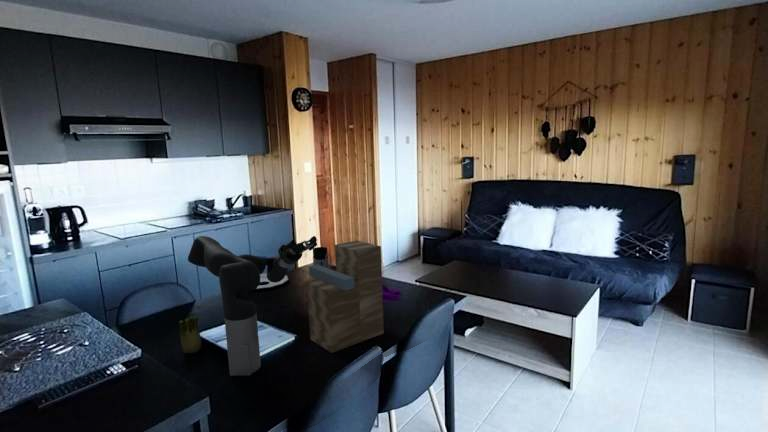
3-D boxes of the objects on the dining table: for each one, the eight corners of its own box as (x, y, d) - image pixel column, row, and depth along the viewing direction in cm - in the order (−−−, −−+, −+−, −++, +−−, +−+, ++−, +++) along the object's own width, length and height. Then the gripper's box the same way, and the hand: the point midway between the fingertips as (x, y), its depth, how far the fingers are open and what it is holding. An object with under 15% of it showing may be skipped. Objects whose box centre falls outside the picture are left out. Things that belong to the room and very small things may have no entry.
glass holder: (324, 272, 232) (322, 245, 229) (338, 278, 221) (337, 250, 219) (310, 276, 226) (308, 248, 224) (324, 281, 215) (322, 253, 213)
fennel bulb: (181, 356, 140) (177, 321, 138) (184, 349, 145) (180, 316, 143) (200, 353, 142) (197, 319, 140) (202, 347, 146) (199, 314, 144)
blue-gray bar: (354, 288, 138) (353, 277, 137) (345, 290, 136) (344, 280, 135) (317, 273, 156) (317, 264, 155) (309, 275, 153) (308, 266, 153)
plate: (237, 280, 224) (237, 276, 224) (286, 274, 232) (286, 271, 231) (236, 294, 201) (236, 290, 200) (290, 288, 208) (290, 284, 208)
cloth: (356, 304, 183) (355, 291, 182) (363, 290, 202) (363, 278, 201) (408, 305, 181) (407, 291, 180) (410, 291, 199) (410, 278, 198)
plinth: (383, 333, 153) (380, 246, 148) (331, 352, 139) (326, 257, 134) (360, 321, 163) (357, 240, 158) (310, 339, 150) (304, 250, 145)
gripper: (308, 261, 172) (324, 246, 160) (275, 268, 163) (290, 252, 151) (302, 244, 174) (318, 228, 162) (269, 250, 165) (284, 233, 153)
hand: (305, 240), depth 157 cm, fingers open, 8 cm apart
